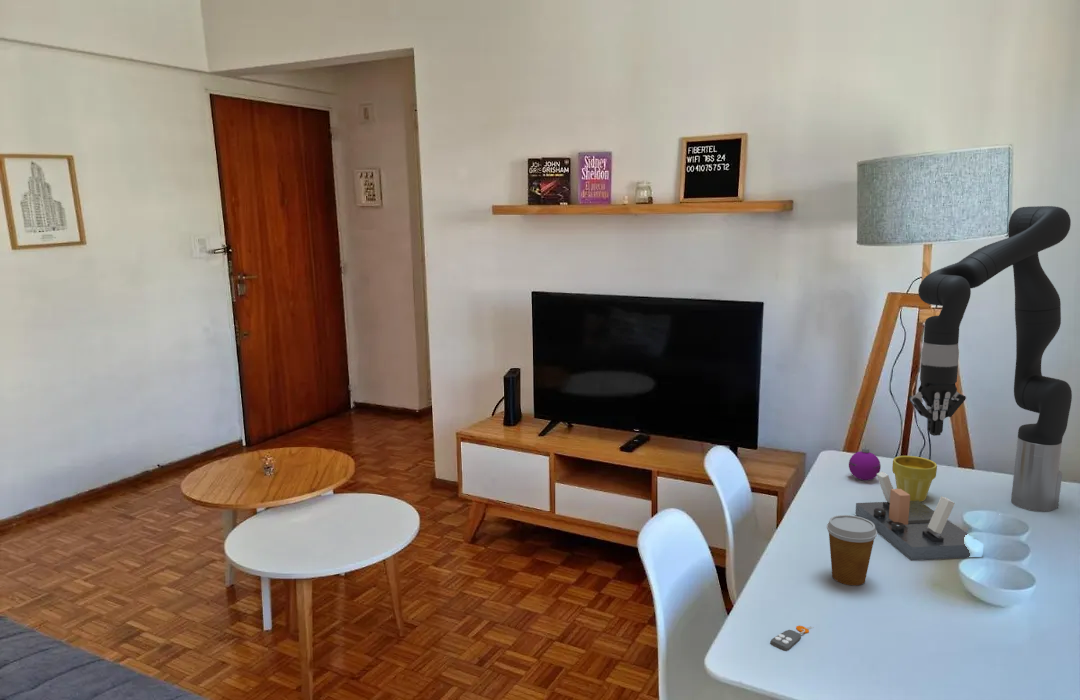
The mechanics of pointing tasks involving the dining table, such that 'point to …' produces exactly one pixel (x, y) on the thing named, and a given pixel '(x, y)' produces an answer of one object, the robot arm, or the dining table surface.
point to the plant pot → (914, 475)
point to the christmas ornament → (864, 465)
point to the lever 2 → (940, 516)
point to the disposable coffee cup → (850, 547)
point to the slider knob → (899, 506)
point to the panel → (915, 532)
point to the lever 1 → (885, 485)
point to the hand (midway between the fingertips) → (934, 434)
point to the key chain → (789, 638)
